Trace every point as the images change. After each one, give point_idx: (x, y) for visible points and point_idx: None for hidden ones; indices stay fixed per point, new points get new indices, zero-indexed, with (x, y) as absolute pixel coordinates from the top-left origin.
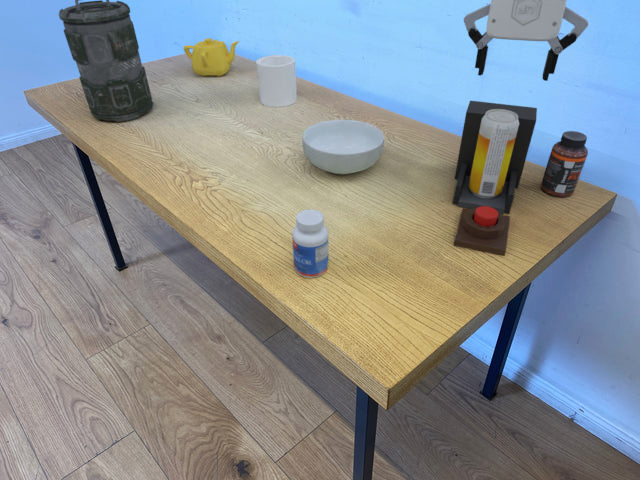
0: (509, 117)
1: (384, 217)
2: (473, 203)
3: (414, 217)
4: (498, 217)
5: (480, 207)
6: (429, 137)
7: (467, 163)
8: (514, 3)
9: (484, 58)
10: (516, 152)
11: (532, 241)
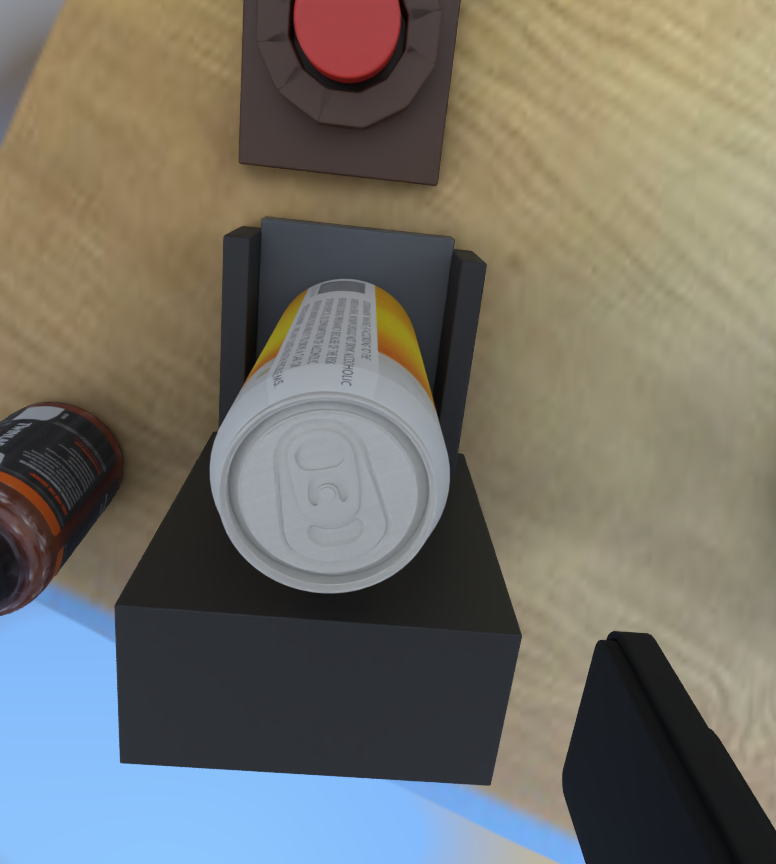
0: (274, 488)
1: (766, 70)
2: (392, 233)
3: (635, 103)
4: (289, 55)
5: (377, 57)
6: (560, 744)
7: None
8: None
9: (684, 775)
10: None
11: (141, 28)
